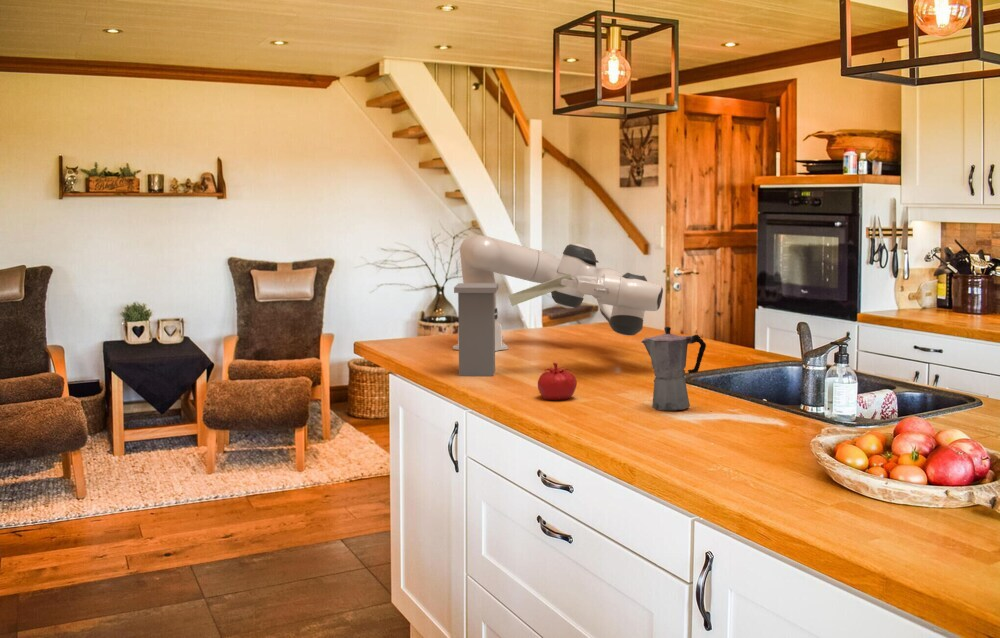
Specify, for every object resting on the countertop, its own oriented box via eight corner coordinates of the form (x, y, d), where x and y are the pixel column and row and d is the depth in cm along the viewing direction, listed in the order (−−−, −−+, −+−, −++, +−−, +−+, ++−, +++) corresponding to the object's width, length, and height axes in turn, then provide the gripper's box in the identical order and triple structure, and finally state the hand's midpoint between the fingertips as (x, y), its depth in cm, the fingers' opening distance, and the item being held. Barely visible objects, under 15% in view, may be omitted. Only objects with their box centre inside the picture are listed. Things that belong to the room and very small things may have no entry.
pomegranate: (579, 402, 238) (579, 366, 236) (539, 402, 237) (540, 366, 235) (572, 393, 247) (573, 359, 246) (535, 394, 247) (535, 359, 245)
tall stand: (459, 368, 285) (458, 283, 282) (498, 368, 284) (498, 283, 281) (455, 377, 271) (454, 287, 268) (496, 377, 271) (496, 287, 267)
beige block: (512, 304, 276) (508, 295, 276) (573, 282, 275) (569, 273, 275) (511, 305, 273) (508, 296, 273) (573, 283, 271) (570, 274, 271)
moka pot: (639, 403, 235) (640, 324, 233) (701, 404, 234) (703, 324, 231) (641, 411, 226) (642, 329, 223) (706, 412, 224) (708, 329, 222)
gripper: (608, 303, 263) (559, 294, 263) (603, 296, 283) (558, 288, 284) (612, 281, 262) (563, 272, 263) (607, 276, 283) (561, 268, 283)
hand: (560, 280), depth 273 cm, fingers closed on beige block, 3 cm apart
